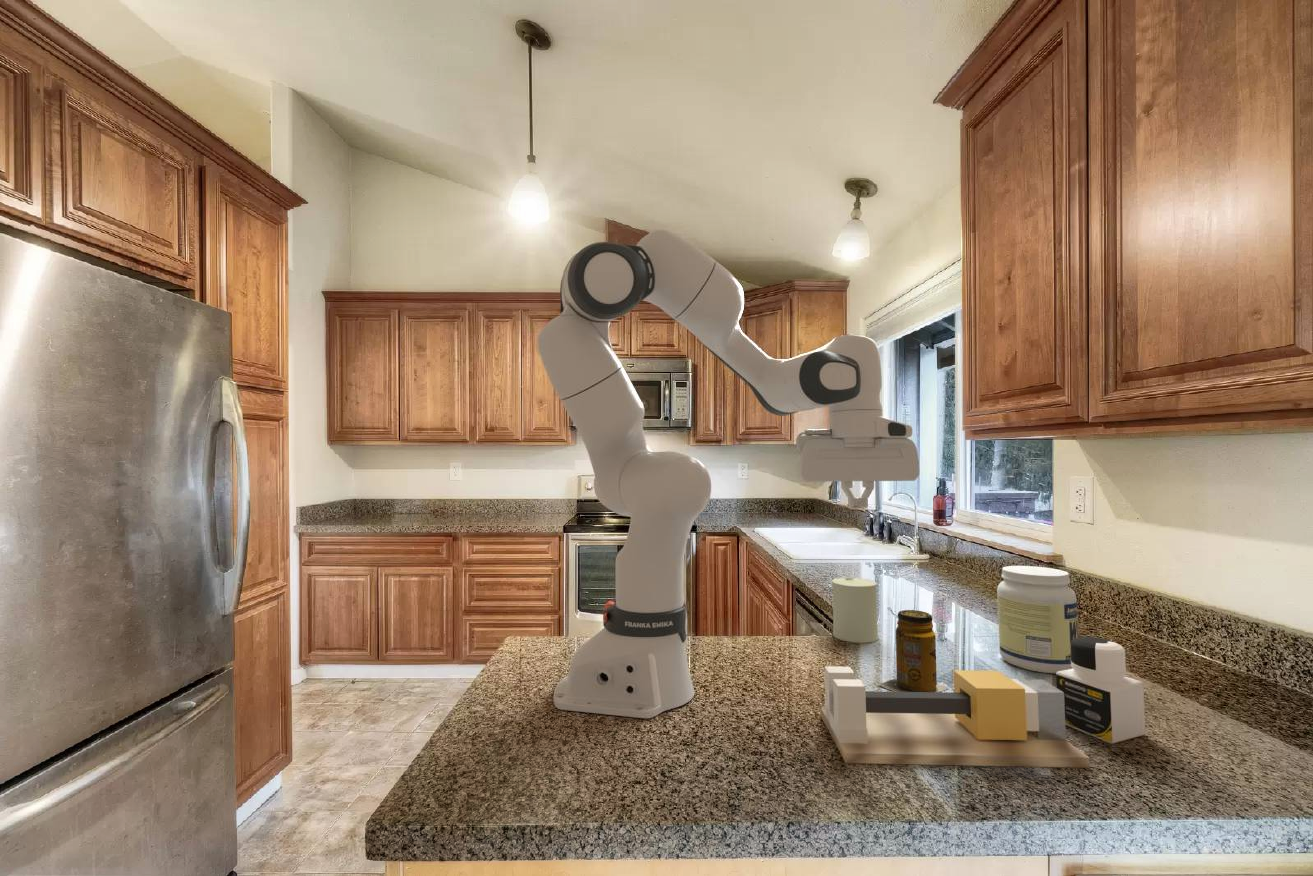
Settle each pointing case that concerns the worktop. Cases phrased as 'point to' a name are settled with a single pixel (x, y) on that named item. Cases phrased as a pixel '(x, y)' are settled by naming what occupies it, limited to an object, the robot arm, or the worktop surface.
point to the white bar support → (845, 705)
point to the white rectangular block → (1030, 707)
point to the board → (949, 744)
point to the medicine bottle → (1101, 692)
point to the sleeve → (992, 705)
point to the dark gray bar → (918, 702)
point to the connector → (1048, 710)
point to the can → (855, 610)
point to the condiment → (915, 654)
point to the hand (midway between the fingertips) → (858, 507)
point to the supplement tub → (1036, 618)
